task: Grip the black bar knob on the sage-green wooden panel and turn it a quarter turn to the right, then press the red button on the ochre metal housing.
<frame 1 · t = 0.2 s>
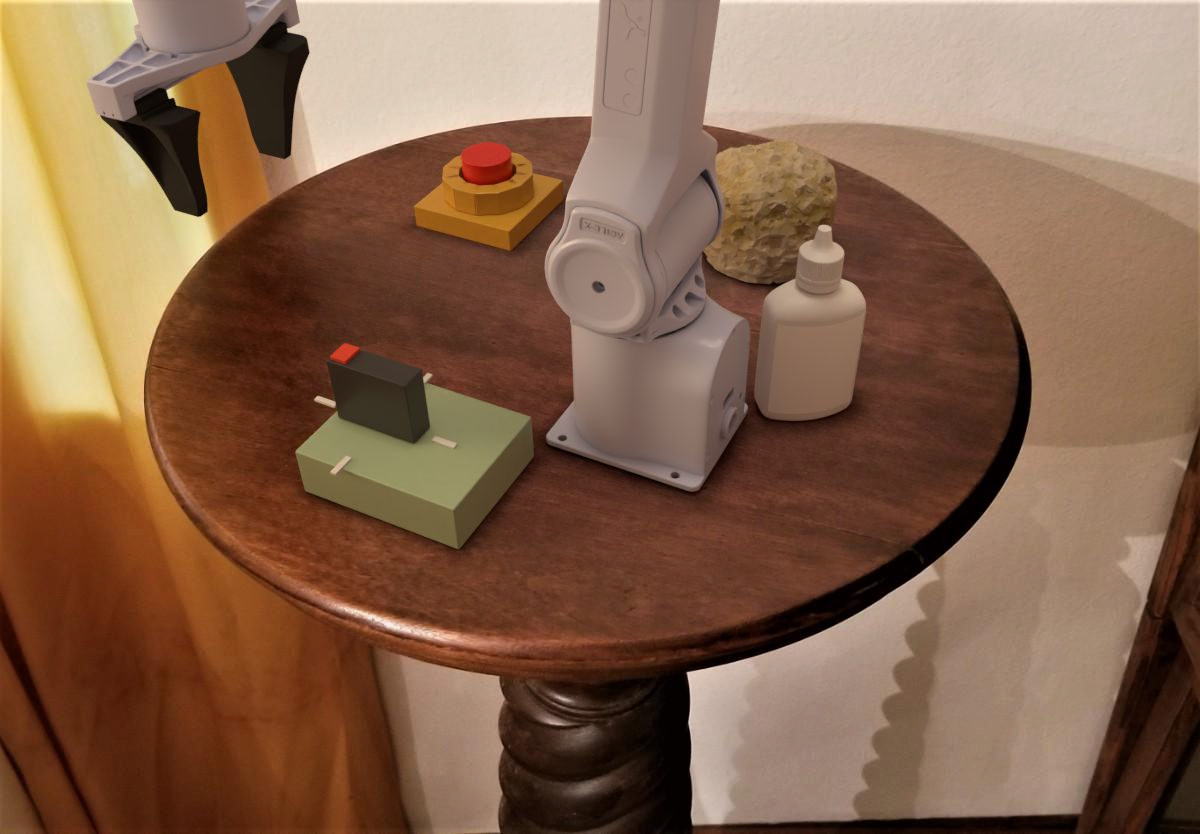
hand: (234, 181, 69), 10 cm above the table, tool pointing down, fingers open, 7 cm apart
button: (487, 164, 83), point 4 cm above the table, slide at 0.1 cm
eye dropper bottle: (801, 405, 68), on the table
coral: (763, 251, 81), on the table
button box: (491, 212, 85), on the table
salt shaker: (646, 192, 88), on the table
panel: (421, 473, 64), on the table
knob: (378, 392, 61), point 5 cm above the table, hinge at 0.0°
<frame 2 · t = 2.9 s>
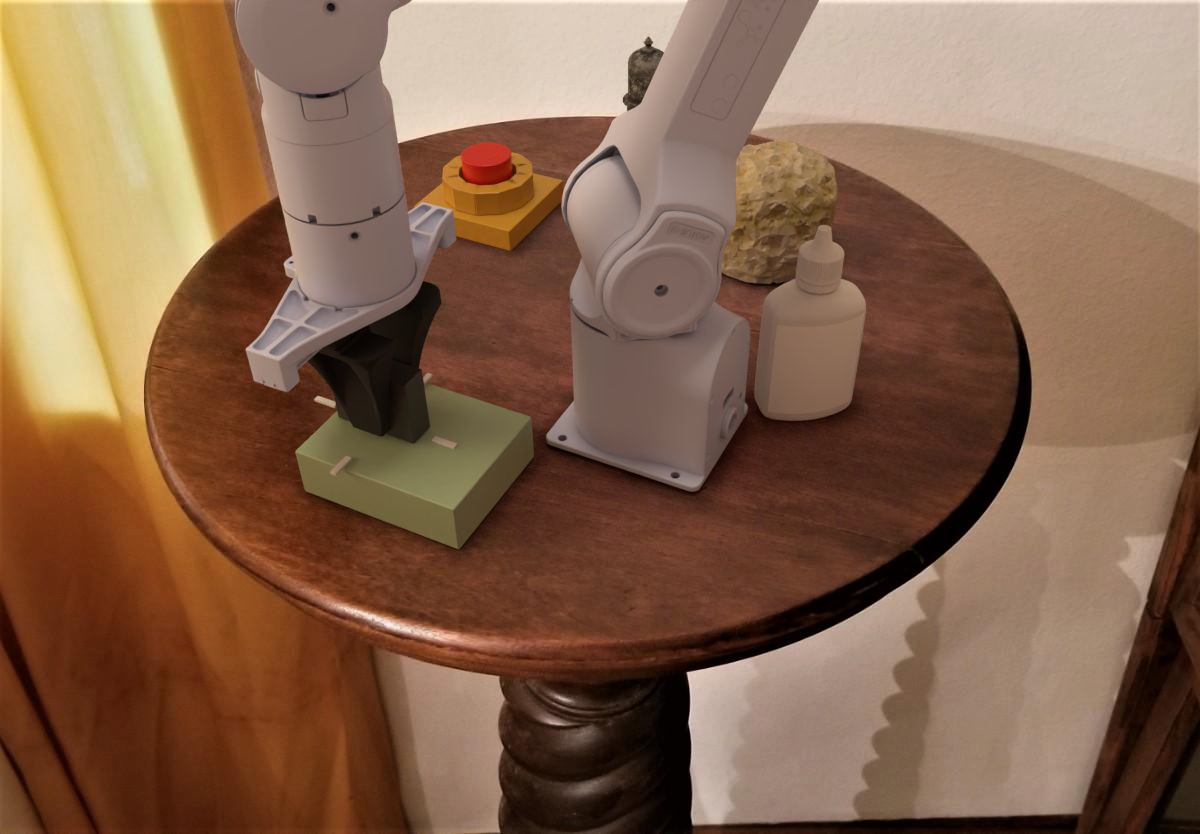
hand: (383, 415, 62), 4 cm above the table, tool pointing down, fingers closed on knob, 2 cm apart
knob: (378, 392, 61), point 5 cm above the table, hinge at 0.0°, touching gripper
everything else where it was.
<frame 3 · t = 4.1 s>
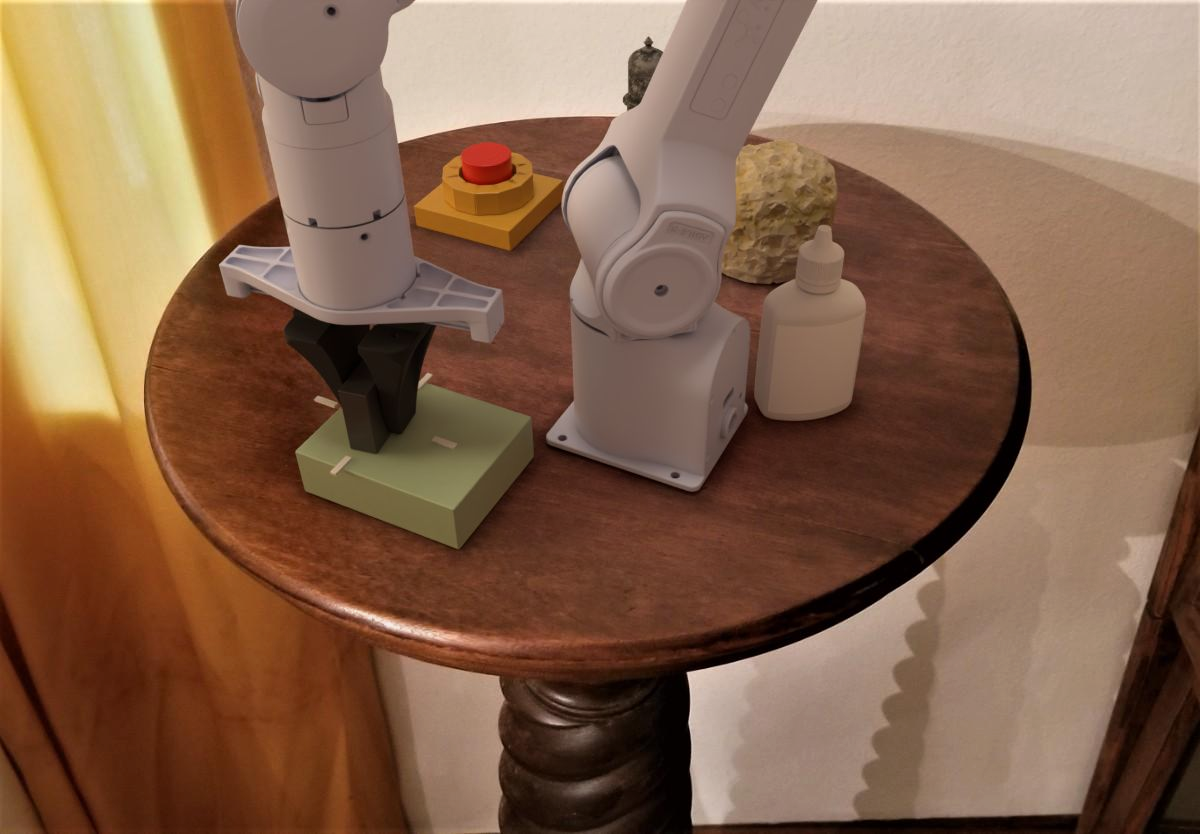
hand: (383, 418, 62), 3 cm above the table, tool pointing down, fingers closed
knob: (378, 392, 61), point 5 cm above the table, hinge at -80.7°
everything else where it was.
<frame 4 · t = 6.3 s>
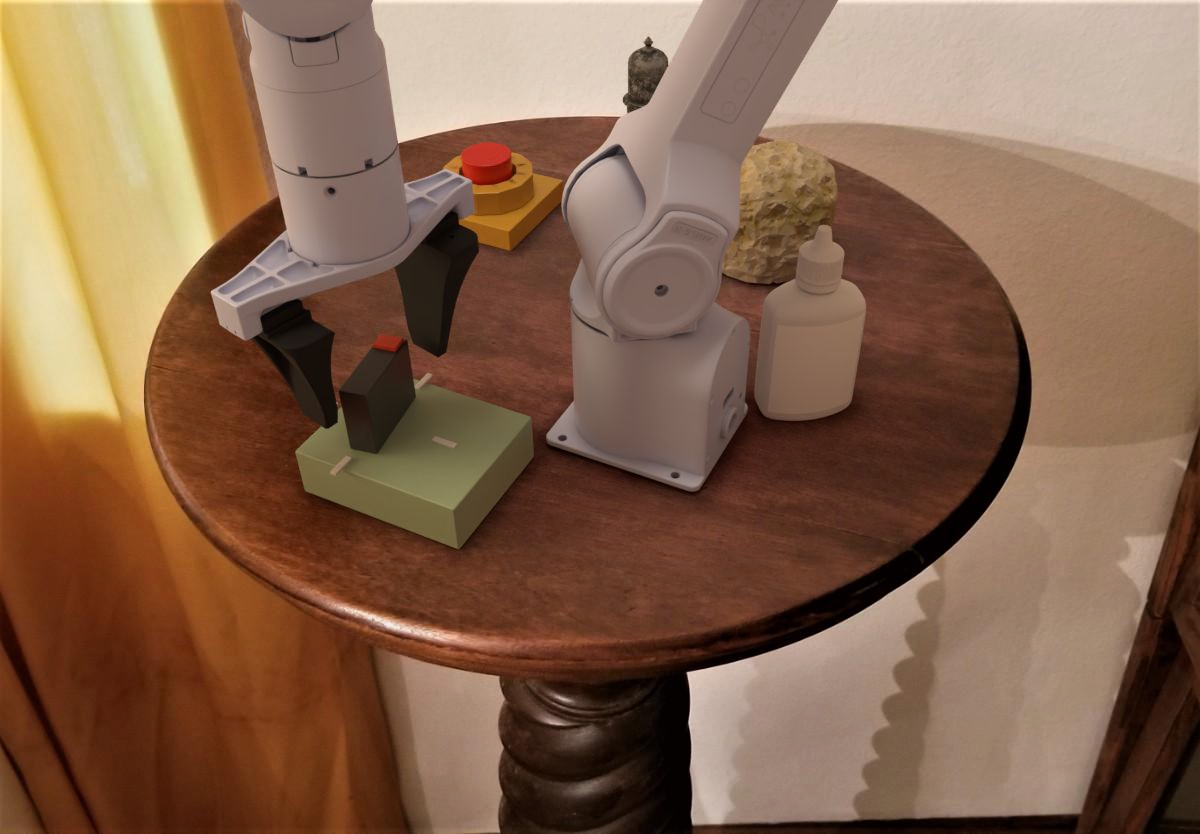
hand: (377, 381, 61), 6 cm above the table, tool pointing down, fingers open, 7 cm apart
nothing on the table moved.
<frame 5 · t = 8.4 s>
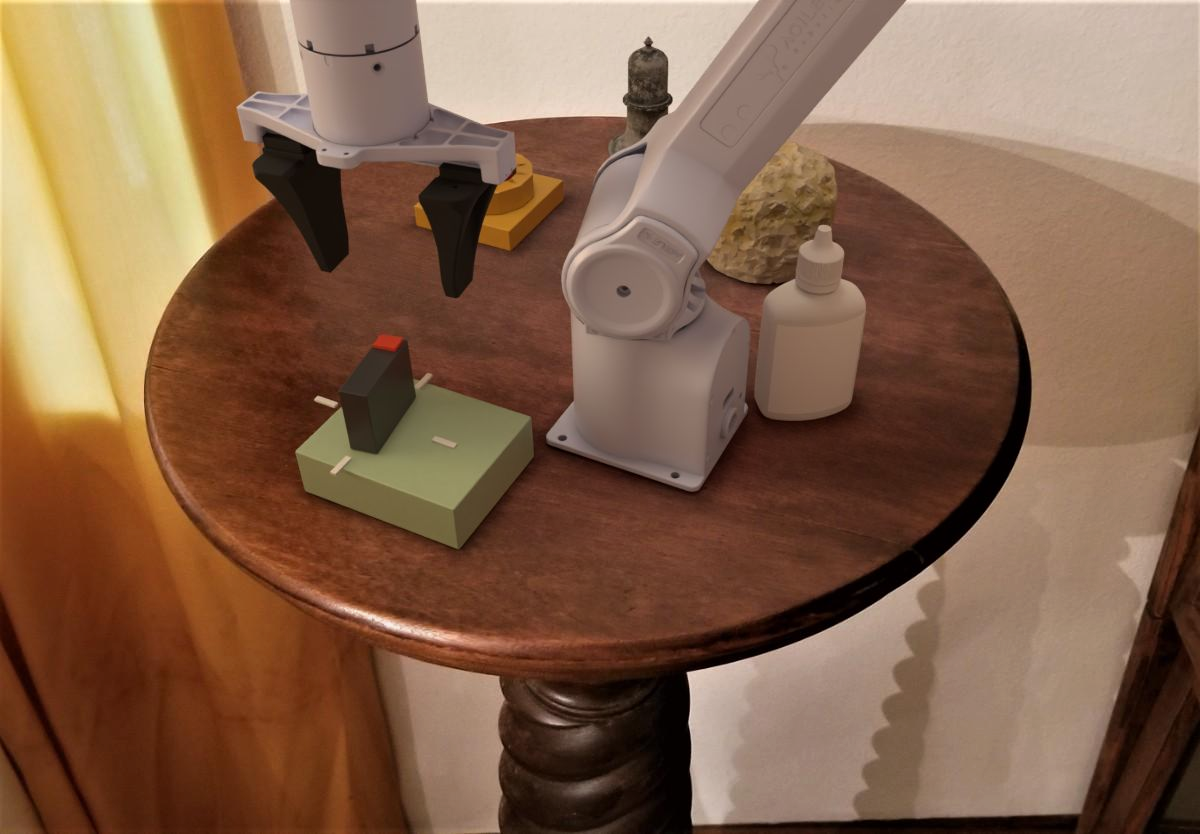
hand: (396, 274, 63), 9 cm above the table, tool pointing down, fingers open, 7 cm apart
nothing on the table moved.
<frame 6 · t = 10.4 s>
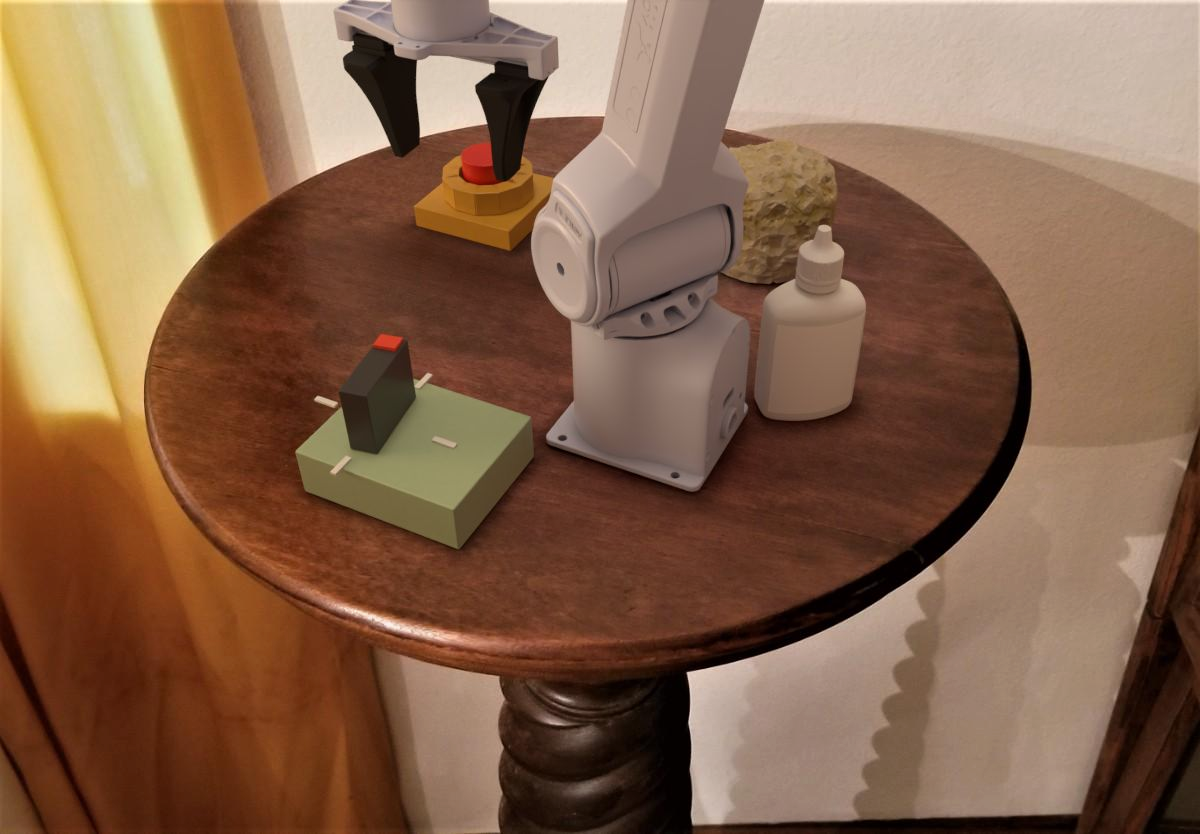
hand: (456, 162, 74), 8 cm above the table, tool pointing down, fingers open, 7 cm apart
nothing on the table moved.
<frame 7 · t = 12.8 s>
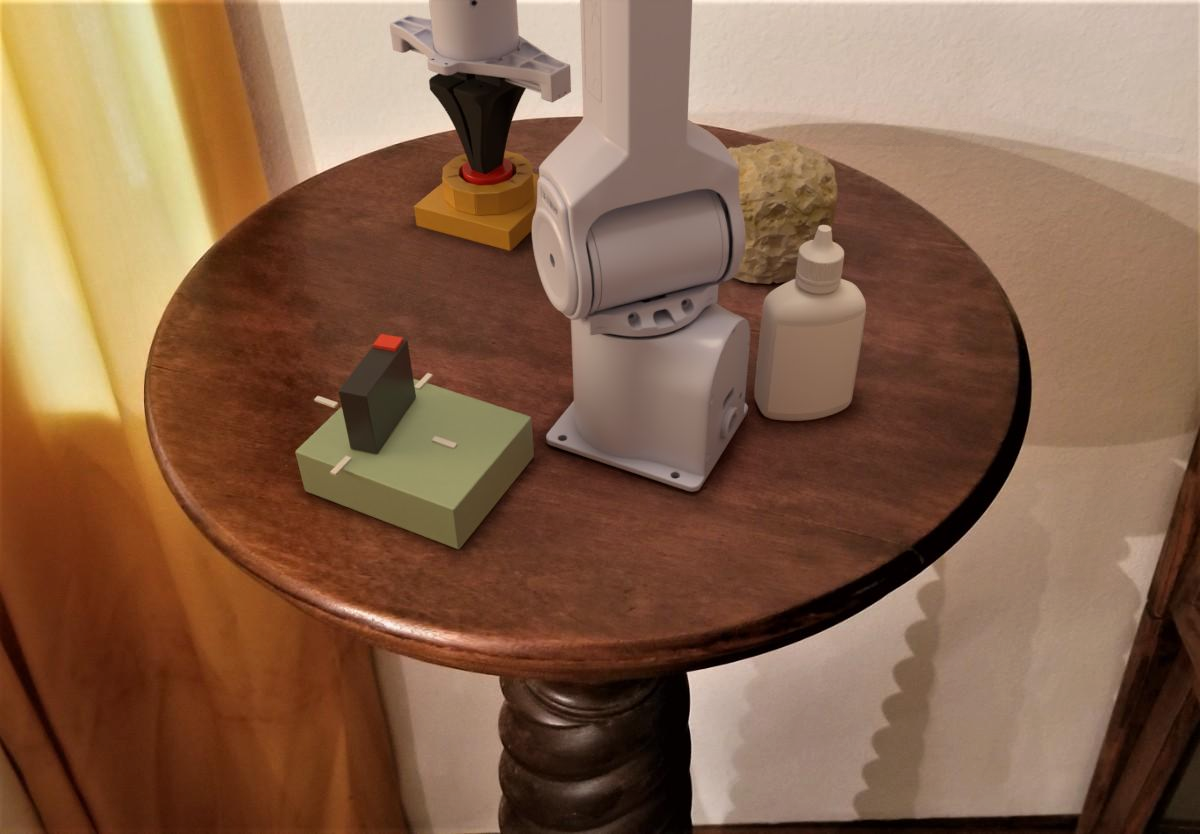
hand: (487, 166, 83), 4 cm above the table, tool pointing down, fingers closed, pressing on button
button: (488, 177, 83), point 3 cm above the table, slide at -0.9 cm, touching gripper
everything else where it was.
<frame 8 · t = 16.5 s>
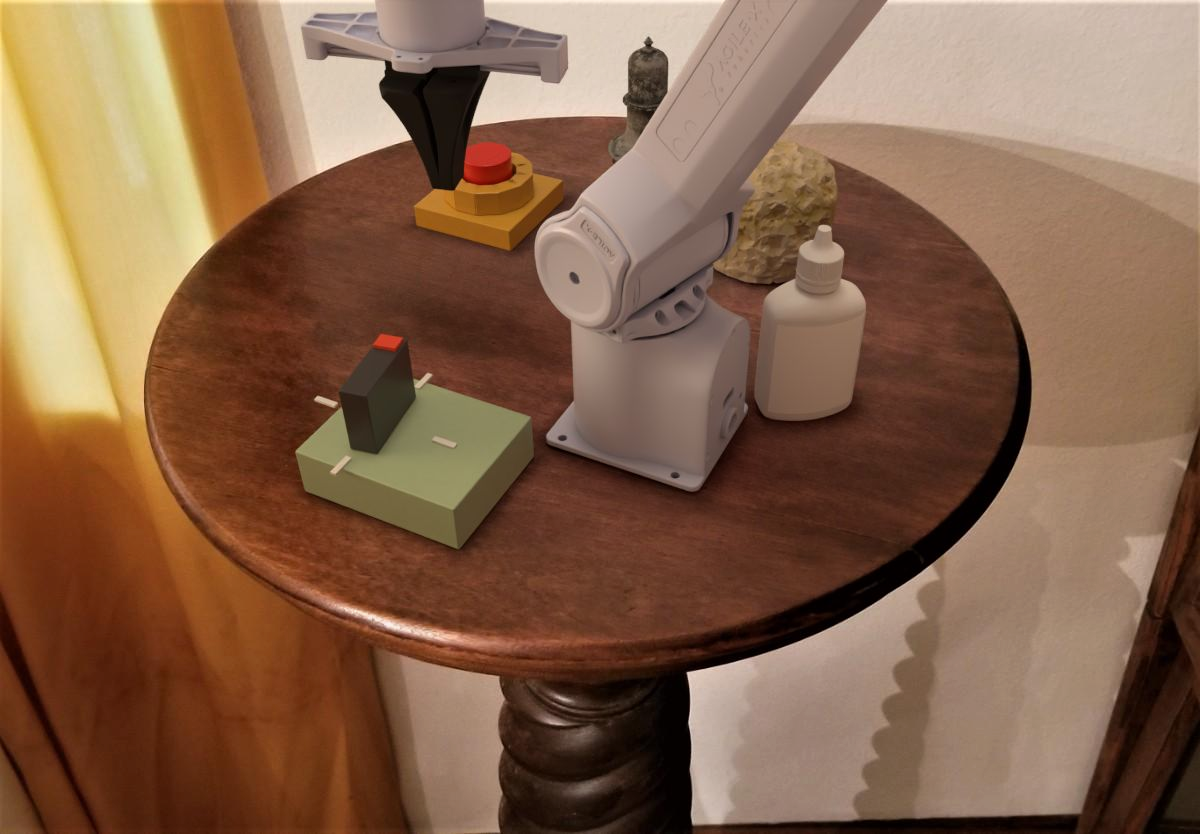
hand: (448, 181, 68), 10 cm above the table, tool pointing down, fingers closed
button: (487, 164, 83), point 4 cm above the table, slide at 0.1 cm
everything else where it was.
at the end: knob at -81° (first picture: +0°); button pushed in 1.2 cm at the most during the clip, back to where it started at the end; button slide at 0.1 cm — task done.
